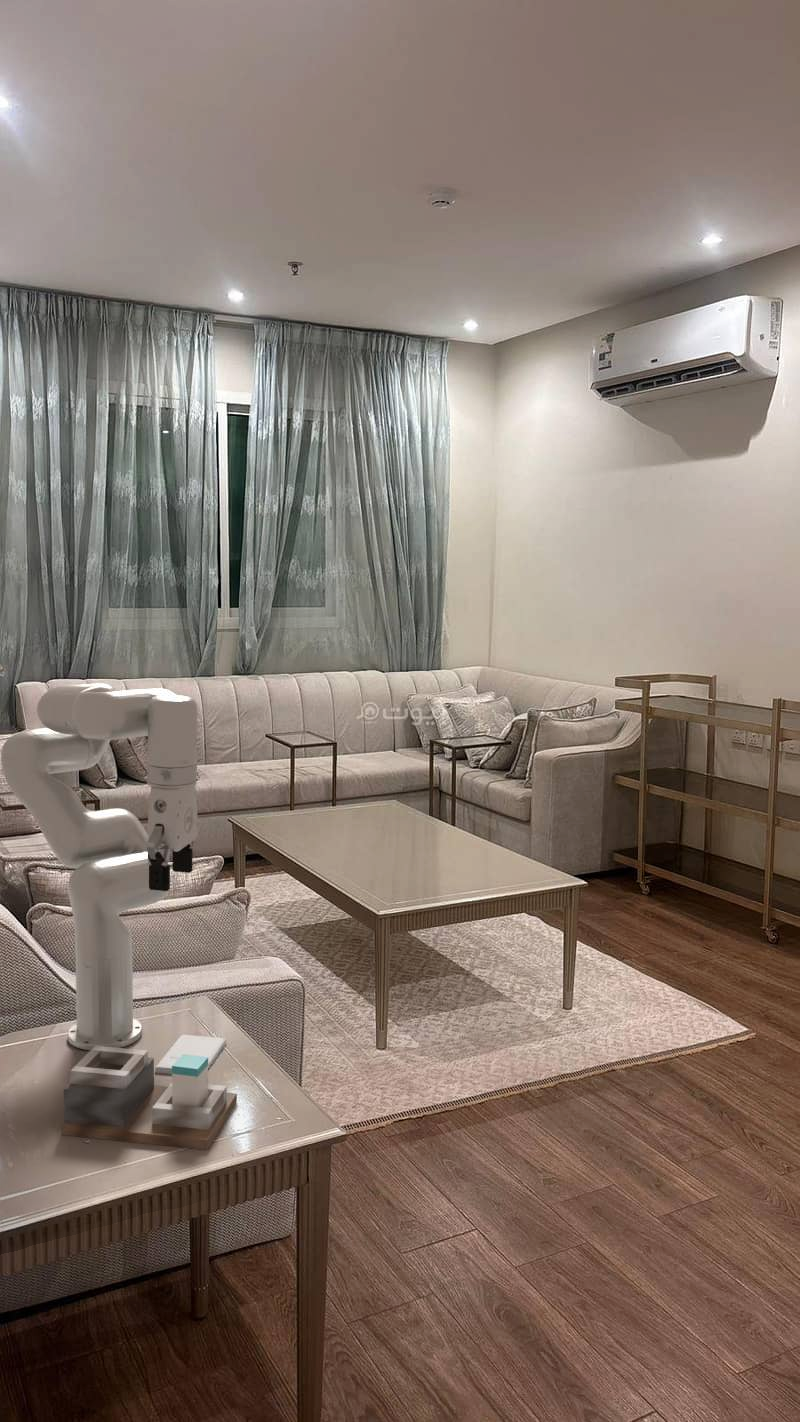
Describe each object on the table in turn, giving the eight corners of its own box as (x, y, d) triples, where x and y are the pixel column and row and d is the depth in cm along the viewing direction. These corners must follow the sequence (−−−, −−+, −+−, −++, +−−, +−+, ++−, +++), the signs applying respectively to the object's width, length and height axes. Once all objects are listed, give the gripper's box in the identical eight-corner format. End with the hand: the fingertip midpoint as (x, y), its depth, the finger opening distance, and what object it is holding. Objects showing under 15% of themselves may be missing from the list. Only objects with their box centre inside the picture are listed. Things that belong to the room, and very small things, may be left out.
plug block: (172, 1117, 160) (172, 1065, 159) (183, 1104, 164) (183, 1054, 162) (197, 1120, 159) (197, 1069, 158) (208, 1107, 163) (208, 1057, 162)
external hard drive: (226, 1047, 188) (203, 1079, 176) (180, 1043, 189) (154, 1075, 177) (226, 1038, 188) (203, 1070, 176) (180, 1034, 189) (154, 1065, 177)
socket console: (61, 1134, 157) (60, 1079, 156) (101, 1089, 171) (101, 1038, 170) (207, 1150, 154) (207, 1093, 153) (236, 1102, 167) (236, 1050, 166)
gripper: (174, 788, 160) (173, 899, 162) (213, 766, 177) (212, 867, 179) (126, 784, 161) (126, 895, 164) (169, 762, 178) (169, 863, 181)
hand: (171, 880), depth 171 cm, fingers open, 9 cm apart
